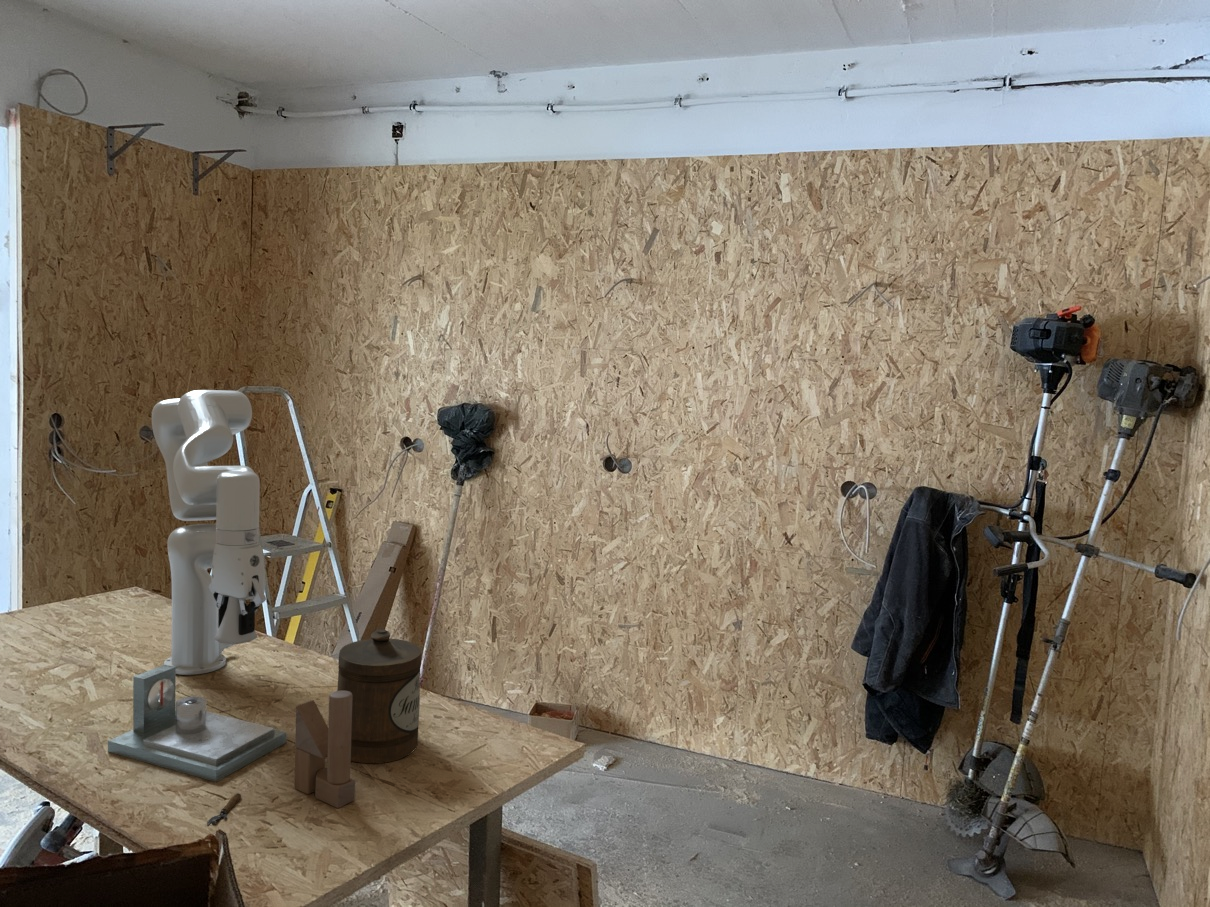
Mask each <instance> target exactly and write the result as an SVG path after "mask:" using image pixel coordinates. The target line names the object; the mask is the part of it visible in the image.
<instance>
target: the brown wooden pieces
mask: <svg viewBox="0 0 1210 907" xmlns="http://www.w3.org/2000/svg"><path fill="white" fill-rule="evenodd" d="M352 698H353V695H352V693H351V692H349V691H344V690H340V691H337V690H335V691H333V692H331V693H330V694H329V696H328V723H327V722H326V720H325V719H324V717H323V715H322V713H321V711H320V709H319V707H318V705H317V703H316V702H315V700H314V699H312V700H310V701H307V702H304V703H300V704H298V705H296V706H295V724H294V725H295V733H294V735H295V736H294V740H295V741H294V746H295V749H294V777H293V778H294V782H293V783H294V785H293V787H294V789H295V790H297V791H299V792H302V793H304V794H305V795H309V794H312V793H314V794H315V799H317V800H319V801H321V802H323V803H326V804H328V805H330V806H332V807H334V808H337V809H340V808H342V807H344V806H346V805H348V804H349V803H352V802H353V801H355V794H356V780H355V779H353V778H351V762H352V761H351V732H352ZM326 760H327V765H326Z"/></svg>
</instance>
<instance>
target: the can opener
mask: <svg viewBox="0 0 1210 907" xmlns="http://www.w3.org/2000/svg"><path fill="white" fill-rule="evenodd" d="M241 798H242V795H241V794H240V793H239V792H237V793H235V794H234V795H233V796H232V797H231V798H230V799H229V800H228V802H227V803H226V805H225V806H223V807H222V809H221V811H220V812H219V814H217V815H215V816H212V817H210V818H209V820H207V822H206V826H207V827H209V826H210V825H212V826H216V825H217V824H216V823H219V822H220V820H221V818H222V820H225V819H226V818H227V817H228V815H227V814H228V813H229V812H230V810H231V809H233V808H234V807H235V806H236V805H237V804H238V803H239V802H240V800H241Z"/></svg>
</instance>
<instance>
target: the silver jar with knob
mask: <svg viewBox="0 0 1210 907" xmlns="http://www.w3.org/2000/svg"><path fill="white" fill-rule="evenodd" d="M206 711H207V698H205V697H203V696H186V697H183V698H179V699H178V700H176V701H175V731H176V732H177V733H178V734H183V735H189V734H196V733H199V732H202V731H203V730H205V729H206Z"/></svg>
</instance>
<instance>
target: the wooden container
mask: <svg viewBox="0 0 1210 907" xmlns="http://www.w3.org/2000/svg"><path fill="white" fill-rule="evenodd" d="M421 666H422V649H421V647H420V646H419V645H417V644H416V643H414V642H411V641H408V640H404V639H398V638H391V634H390V631H388V630H386V629H384V628H378V629H376V630H374V631H373V632H372V633H371V635H370V638H367V639H361V640H356V641H353V642H350V643H347V644H345V645H344V646H343V647H341V648H340V650H339V654H338V668H337V669H338V672H337V673H338V674H337V676H338V677H337V688H336V689H337V690H336V691H340V690H344V691H349V692H351V693H352V695H353V698H352V732H351V762H353V763H354V762H355V763H358V764H359V763H361V764H385V763H389V762H395V761H398V760H401V759H403V757H404V758H406V757H407V755H408V754H409V755H411V754H412V753H413V752H414V751H415V750H416V749H417V747H418V744H417V743H419V742H418V740H419V724H420V701H421V699H420V697H421V696H420V695H421V692H420V690H421ZM416 746H417V747H416ZM415 748H416V749H415ZM414 749H415V750H414ZM413 750H414V751H413ZM412 751H413V752H412ZM411 752H412V753H411ZM410 753H411V754H410ZM409 755H408V756H409ZM405 756H406V757H405ZM384 762H385V763H384Z"/></svg>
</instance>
